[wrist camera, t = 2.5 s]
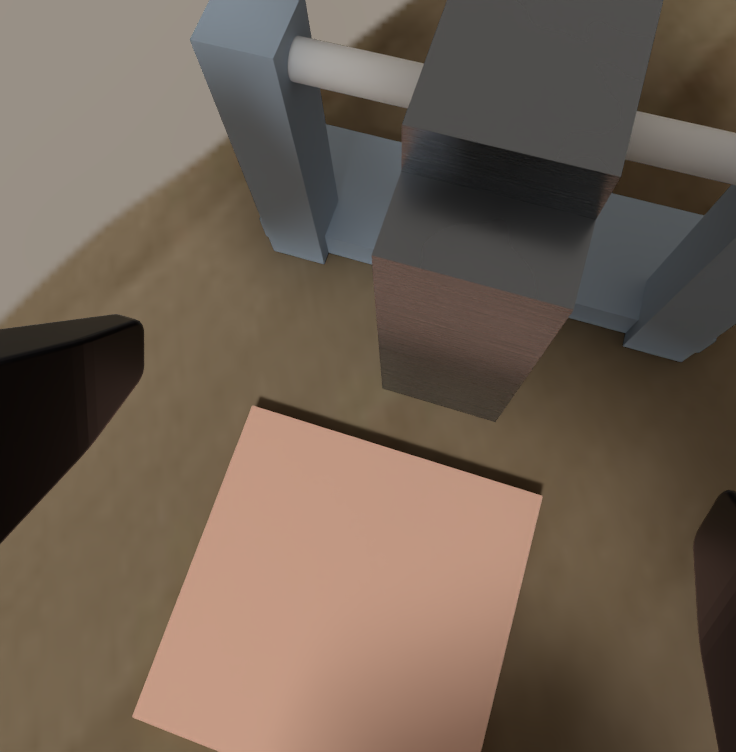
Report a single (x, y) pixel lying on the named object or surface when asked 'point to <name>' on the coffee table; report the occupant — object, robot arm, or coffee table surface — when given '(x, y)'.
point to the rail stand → (383, 167)
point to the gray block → (503, 189)
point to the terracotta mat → (342, 600)
